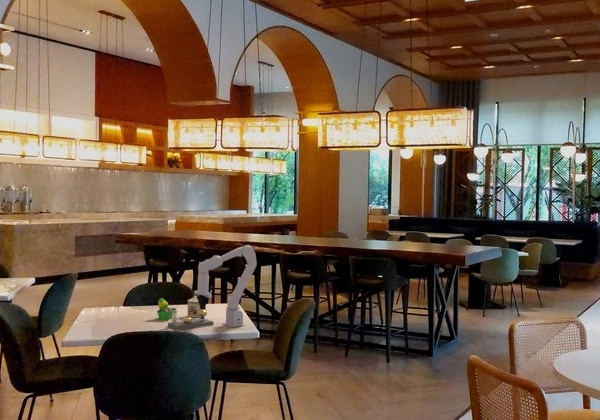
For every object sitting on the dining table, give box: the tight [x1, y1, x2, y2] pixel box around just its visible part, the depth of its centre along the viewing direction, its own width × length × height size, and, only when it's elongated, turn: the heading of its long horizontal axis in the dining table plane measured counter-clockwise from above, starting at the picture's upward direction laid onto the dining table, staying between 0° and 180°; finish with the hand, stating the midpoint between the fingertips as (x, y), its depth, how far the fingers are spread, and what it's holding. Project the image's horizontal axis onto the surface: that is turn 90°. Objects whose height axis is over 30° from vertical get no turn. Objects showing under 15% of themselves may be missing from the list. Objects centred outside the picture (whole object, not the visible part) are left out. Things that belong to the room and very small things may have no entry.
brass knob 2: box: [198, 309, 208, 319], centre depth 359 cm, size 4×4×4 cm
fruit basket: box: [156, 297, 177, 321], centre depth 373 cm, size 11×9×11 cm
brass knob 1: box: [183, 316, 193, 324], centre depth 354 cm, size 4×4×4 cm
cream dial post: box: [171, 309, 178, 324], centre depth 352 cm, size 3×3×7 cm
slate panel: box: [167, 318, 214, 331], centre depth 356 cm, size 10×22×2 cm, turn 130°
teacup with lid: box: [186, 295, 207, 319], centre depth 381 cm, size 12×9×12 cm
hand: (202, 309), depth 359 cm, fingers closed
